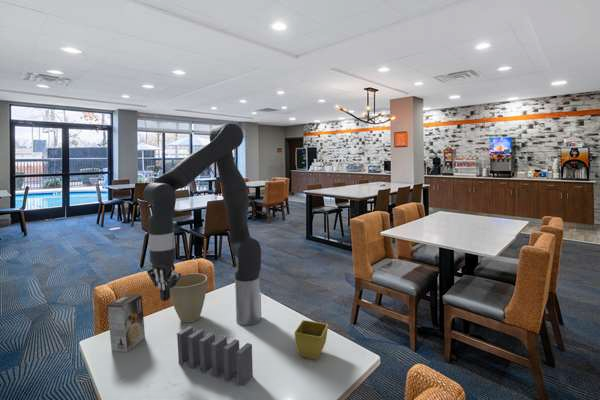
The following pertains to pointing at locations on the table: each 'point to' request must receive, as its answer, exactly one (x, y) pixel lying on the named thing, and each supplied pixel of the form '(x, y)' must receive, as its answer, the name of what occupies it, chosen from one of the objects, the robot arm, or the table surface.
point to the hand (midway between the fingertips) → (165, 299)
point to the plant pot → (189, 296)
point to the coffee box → (126, 322)
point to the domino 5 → (231, 360)
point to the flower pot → (311, 338)
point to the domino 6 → (244, 364)
